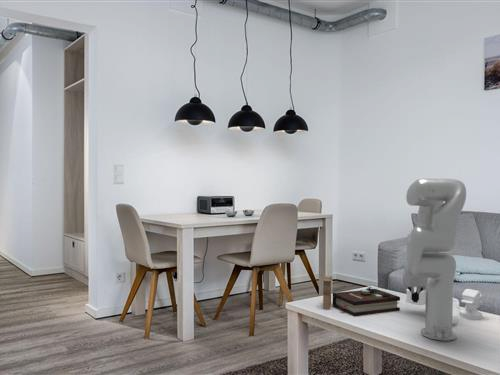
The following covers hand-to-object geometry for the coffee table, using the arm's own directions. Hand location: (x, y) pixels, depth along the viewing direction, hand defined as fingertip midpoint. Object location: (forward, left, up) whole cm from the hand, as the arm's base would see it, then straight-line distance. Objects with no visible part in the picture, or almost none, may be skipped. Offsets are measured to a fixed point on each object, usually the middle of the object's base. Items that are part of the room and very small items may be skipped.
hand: (415, 301), depth 199 cm
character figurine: (0, -23, -5) cm, 24 cm away
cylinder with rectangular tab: (+20, -3, -5) cm, 21 cm away
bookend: (0, +39, -5) cm, 39 cm away
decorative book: (+1, +22, -6) cm, 22 cm away
